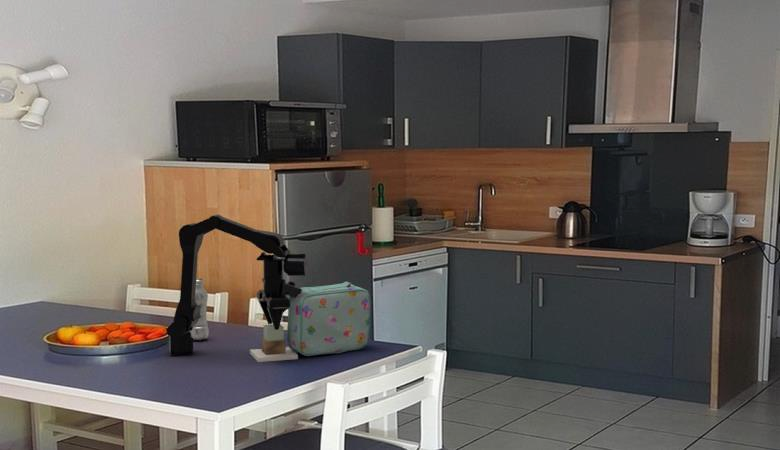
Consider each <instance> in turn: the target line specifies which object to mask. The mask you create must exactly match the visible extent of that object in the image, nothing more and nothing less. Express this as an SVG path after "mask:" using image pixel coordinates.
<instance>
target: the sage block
mask: <svg viewBox="0 0 780 450" xmlns="http://www.w3.org/2000/svg"><path fill="white" fill-rule="evenodd" d="M262 328H263V338H264V339H265V340H266V341H280V340H285V339H284V338H285V335H284V334H285V333H284V331H285V328H284V326H283V325H282V324H280V326H279V329H278V330H275V328H274V326H273V324H264V325H263V327H262Z"/></svg>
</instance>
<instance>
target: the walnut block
mask: <svg viewBox="0 0 780 450" xmlns="http://www.w3.org/2000/svg"><path fill="white" fill-rule="evenodd" d="M286 347H287V345H286V339H284V340H280V341H266V340H265V339H264V337H261V349H262V352H263V353H264V354H265V355H274V354H286Z"/></svg>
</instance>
